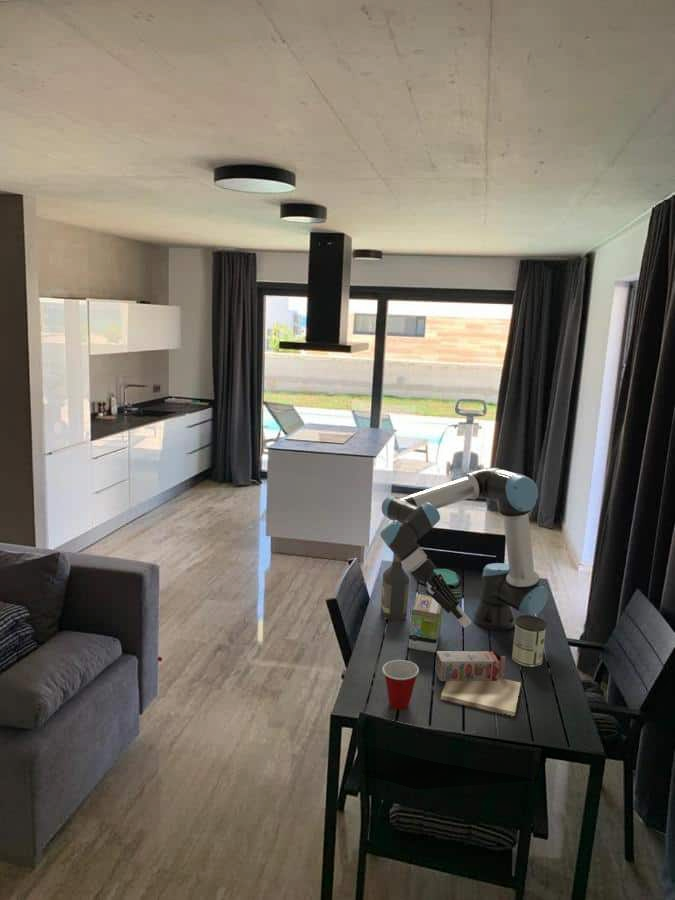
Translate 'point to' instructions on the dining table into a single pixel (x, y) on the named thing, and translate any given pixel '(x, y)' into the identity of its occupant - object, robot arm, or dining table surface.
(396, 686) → the plastic cup
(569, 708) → the dining table surface
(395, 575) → the liquor
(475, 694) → the cutting board
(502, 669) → the juice carton
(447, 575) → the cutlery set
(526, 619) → the coffee can
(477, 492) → the robot arm
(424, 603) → the tea box
